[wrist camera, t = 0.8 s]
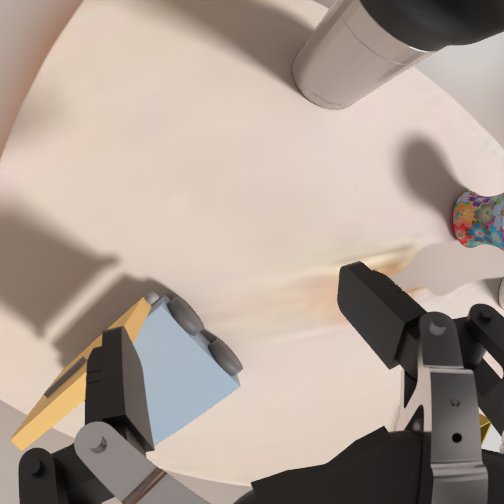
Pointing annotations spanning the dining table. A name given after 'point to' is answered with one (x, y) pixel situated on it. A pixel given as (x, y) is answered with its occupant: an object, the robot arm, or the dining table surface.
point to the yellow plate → (75, 380)
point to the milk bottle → (501, 294)
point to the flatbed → (181, 367)
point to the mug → (479, 220)
